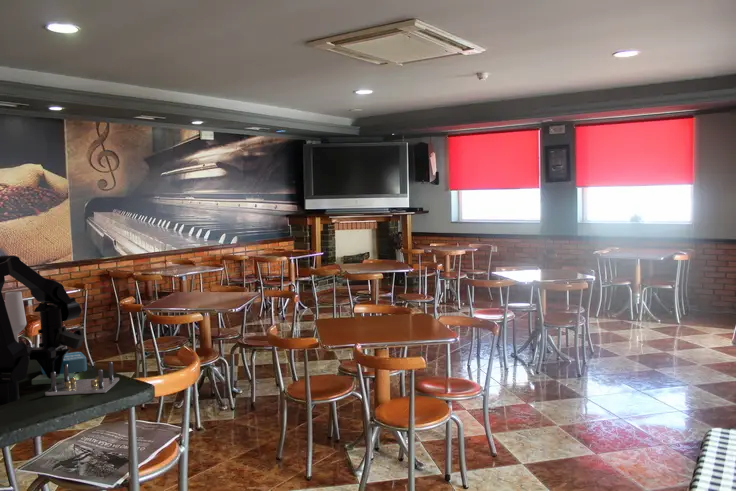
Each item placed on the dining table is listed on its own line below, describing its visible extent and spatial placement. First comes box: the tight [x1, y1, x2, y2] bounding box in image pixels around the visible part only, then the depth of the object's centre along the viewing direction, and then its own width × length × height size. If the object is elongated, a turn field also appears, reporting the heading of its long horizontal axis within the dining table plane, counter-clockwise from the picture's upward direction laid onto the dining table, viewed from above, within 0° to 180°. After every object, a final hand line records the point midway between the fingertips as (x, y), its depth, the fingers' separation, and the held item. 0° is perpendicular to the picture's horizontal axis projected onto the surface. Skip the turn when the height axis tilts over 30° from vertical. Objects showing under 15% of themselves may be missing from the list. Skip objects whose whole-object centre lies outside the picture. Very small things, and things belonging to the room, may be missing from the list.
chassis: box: [44, 361, 120, 397], centre depth 174 cm, size 12×16×6 cm
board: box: [31, 373, 75, 385], centre depth 183 cm, size 6×10×3 cm, turn 96°
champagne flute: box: [4, 291, 28, 343], centre depth 208 cm, size 7×7×24 cm
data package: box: [40, 351, 88, 375], centre depth 194 cm, size 12×4×12 cm
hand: (54, 376), depth 183 cm, fingers closed on board, 4 cm apart
